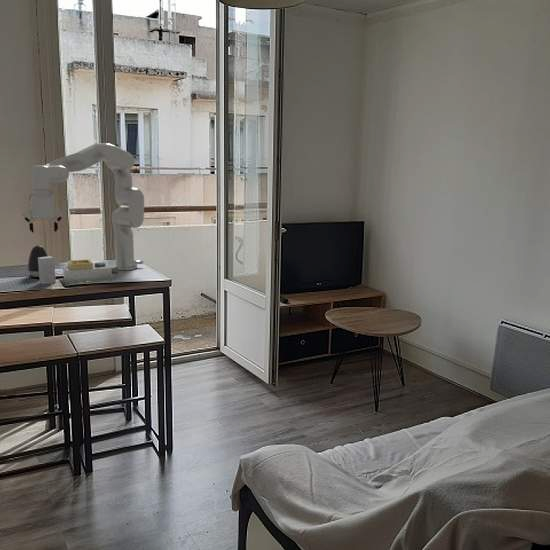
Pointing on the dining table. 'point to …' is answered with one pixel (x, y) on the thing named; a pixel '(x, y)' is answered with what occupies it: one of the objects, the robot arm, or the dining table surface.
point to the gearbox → (87, 271)
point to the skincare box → (46, 270)
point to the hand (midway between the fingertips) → (44, 231)
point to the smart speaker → (35, 260)
